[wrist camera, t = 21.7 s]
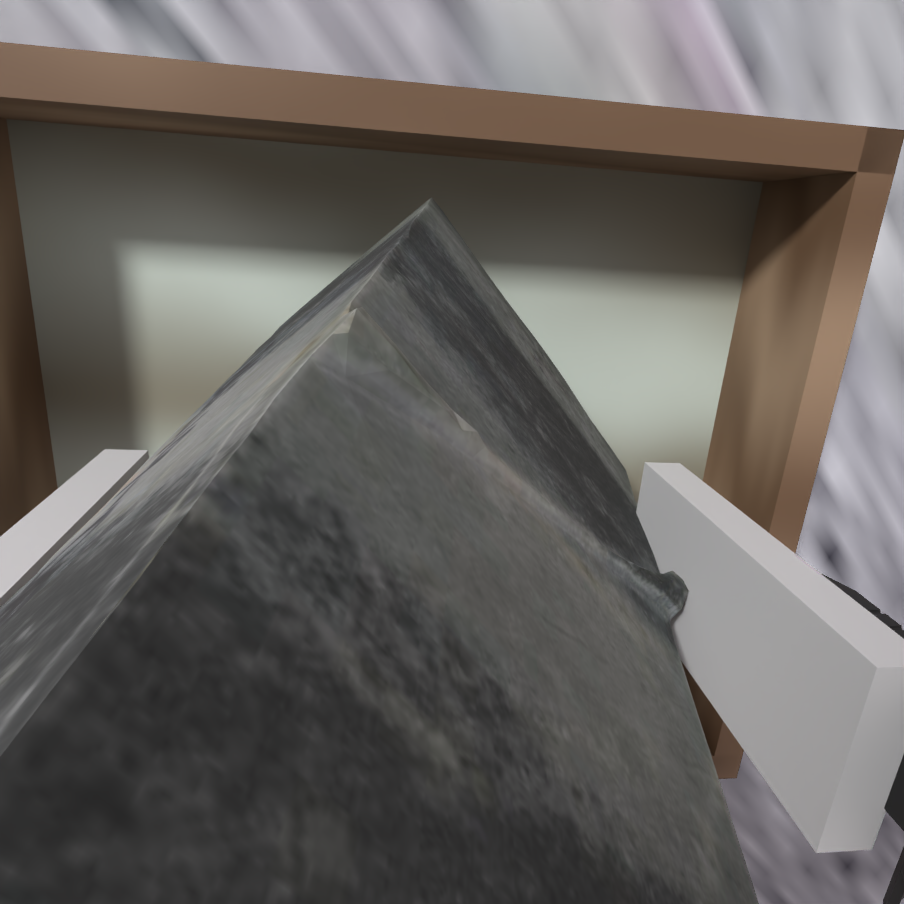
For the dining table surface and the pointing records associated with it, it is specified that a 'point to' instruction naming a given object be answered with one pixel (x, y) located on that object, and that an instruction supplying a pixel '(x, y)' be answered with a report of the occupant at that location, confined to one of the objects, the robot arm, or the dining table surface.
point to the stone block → (364, 637)
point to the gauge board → (479, 224)
